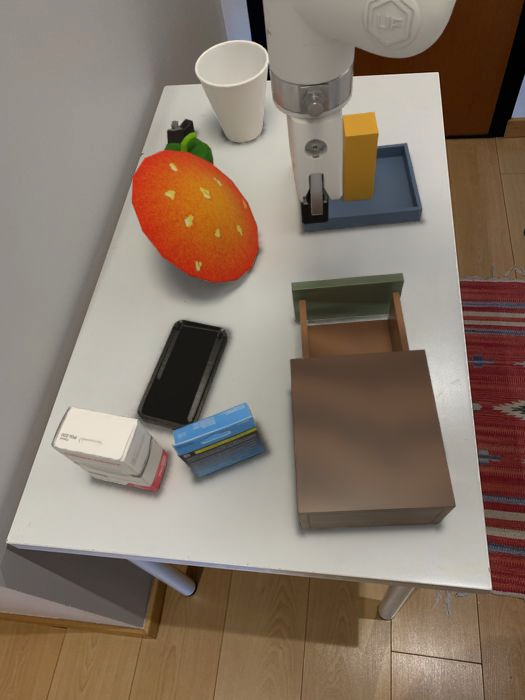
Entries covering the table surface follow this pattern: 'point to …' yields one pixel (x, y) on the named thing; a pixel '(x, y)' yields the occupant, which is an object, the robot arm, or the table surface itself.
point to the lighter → (179, 131)
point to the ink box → (111, 448)
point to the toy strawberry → (195, 216)
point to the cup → (235, 86)
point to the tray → (380, 195)
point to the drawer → (350, 315)
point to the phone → (183, 374)
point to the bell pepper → (192, 147)
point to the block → (359, 155)
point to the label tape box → (218, 440)
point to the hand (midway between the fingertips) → (314, 218)
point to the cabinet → (368, 442)
